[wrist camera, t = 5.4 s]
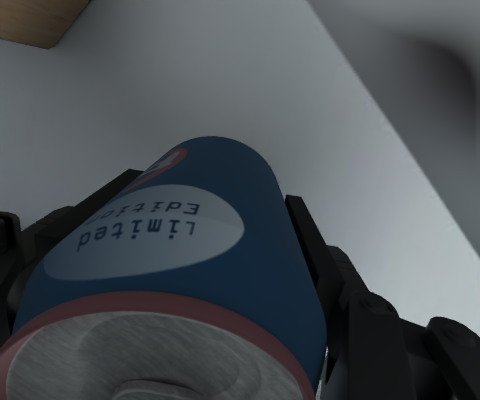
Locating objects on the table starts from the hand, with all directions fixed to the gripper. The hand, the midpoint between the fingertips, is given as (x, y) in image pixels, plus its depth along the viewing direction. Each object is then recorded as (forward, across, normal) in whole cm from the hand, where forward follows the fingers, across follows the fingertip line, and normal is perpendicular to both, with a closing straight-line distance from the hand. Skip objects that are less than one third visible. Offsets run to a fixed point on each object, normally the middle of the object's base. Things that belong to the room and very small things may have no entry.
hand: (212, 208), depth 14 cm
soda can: (+2, 0, 0) cm, 2 cm away
